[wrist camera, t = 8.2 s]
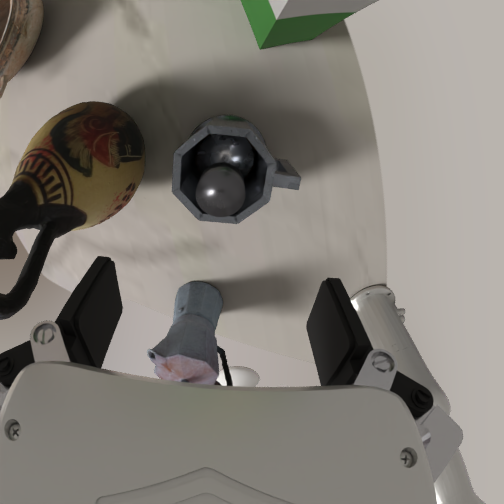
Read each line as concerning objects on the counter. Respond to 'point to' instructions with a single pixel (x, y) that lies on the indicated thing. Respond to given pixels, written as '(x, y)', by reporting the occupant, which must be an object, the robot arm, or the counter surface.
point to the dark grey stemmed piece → (223, 173)
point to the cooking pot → (17, 35)
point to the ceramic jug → (68, 184)
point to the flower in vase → (240, 377)
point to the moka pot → (192, 338)
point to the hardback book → (296, 18)
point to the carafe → (256, 182)
